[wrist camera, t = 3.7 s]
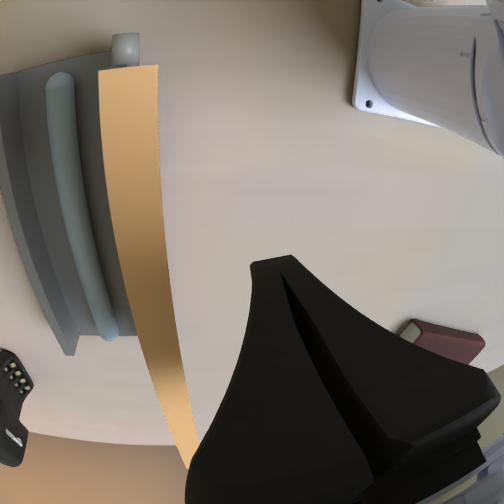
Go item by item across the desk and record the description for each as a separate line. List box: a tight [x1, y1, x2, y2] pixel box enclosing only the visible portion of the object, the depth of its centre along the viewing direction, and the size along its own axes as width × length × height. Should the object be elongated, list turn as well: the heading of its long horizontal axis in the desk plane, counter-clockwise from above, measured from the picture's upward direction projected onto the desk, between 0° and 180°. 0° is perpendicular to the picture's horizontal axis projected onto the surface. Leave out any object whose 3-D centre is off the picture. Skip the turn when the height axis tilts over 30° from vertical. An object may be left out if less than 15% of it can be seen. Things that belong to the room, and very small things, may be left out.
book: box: [398, 319, 485, 365], centre depth 35 cm, size 12×19×3 cm, turn 64°
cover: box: [98, 64, 199, 469], centre depth 12 cm, size 9×18×1 cm
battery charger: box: [0, 350, 34, 467], centre depth 20 cm, size 7×4×11 cm, turn 172°
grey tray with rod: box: [0, 33, 140, 356], centre depth 16 cm, size 9×21×4 cm, turn 176°
